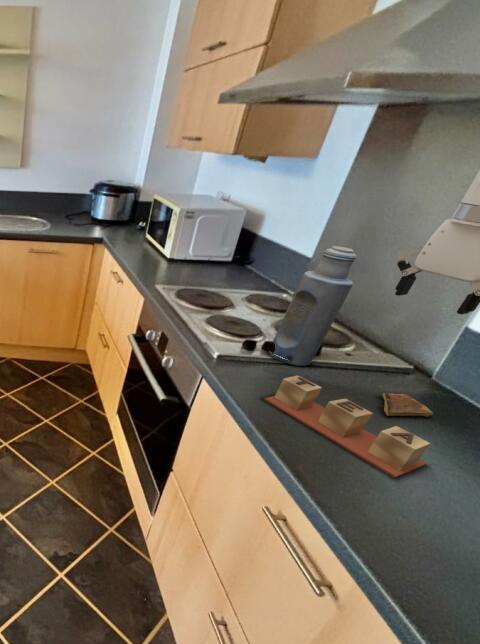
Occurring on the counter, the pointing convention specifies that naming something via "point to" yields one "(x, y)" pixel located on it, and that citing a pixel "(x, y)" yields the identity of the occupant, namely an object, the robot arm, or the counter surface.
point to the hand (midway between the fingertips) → (429, 303)
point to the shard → (404, 406)
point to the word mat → (352, 443)
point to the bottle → (314, 307)
